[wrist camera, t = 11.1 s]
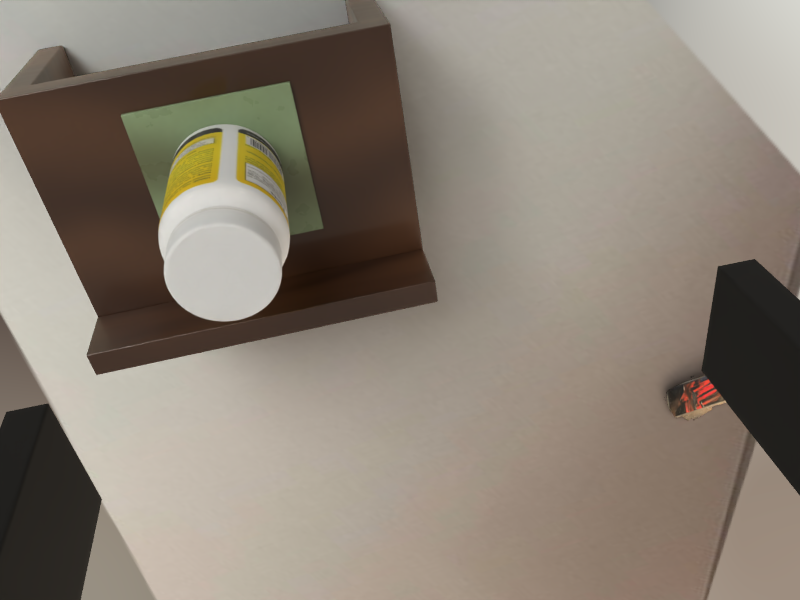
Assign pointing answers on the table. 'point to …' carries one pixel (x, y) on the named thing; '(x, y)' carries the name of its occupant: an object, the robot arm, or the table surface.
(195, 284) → the supplement bottle
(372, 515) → the table surface
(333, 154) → the shelf
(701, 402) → the matchbox
